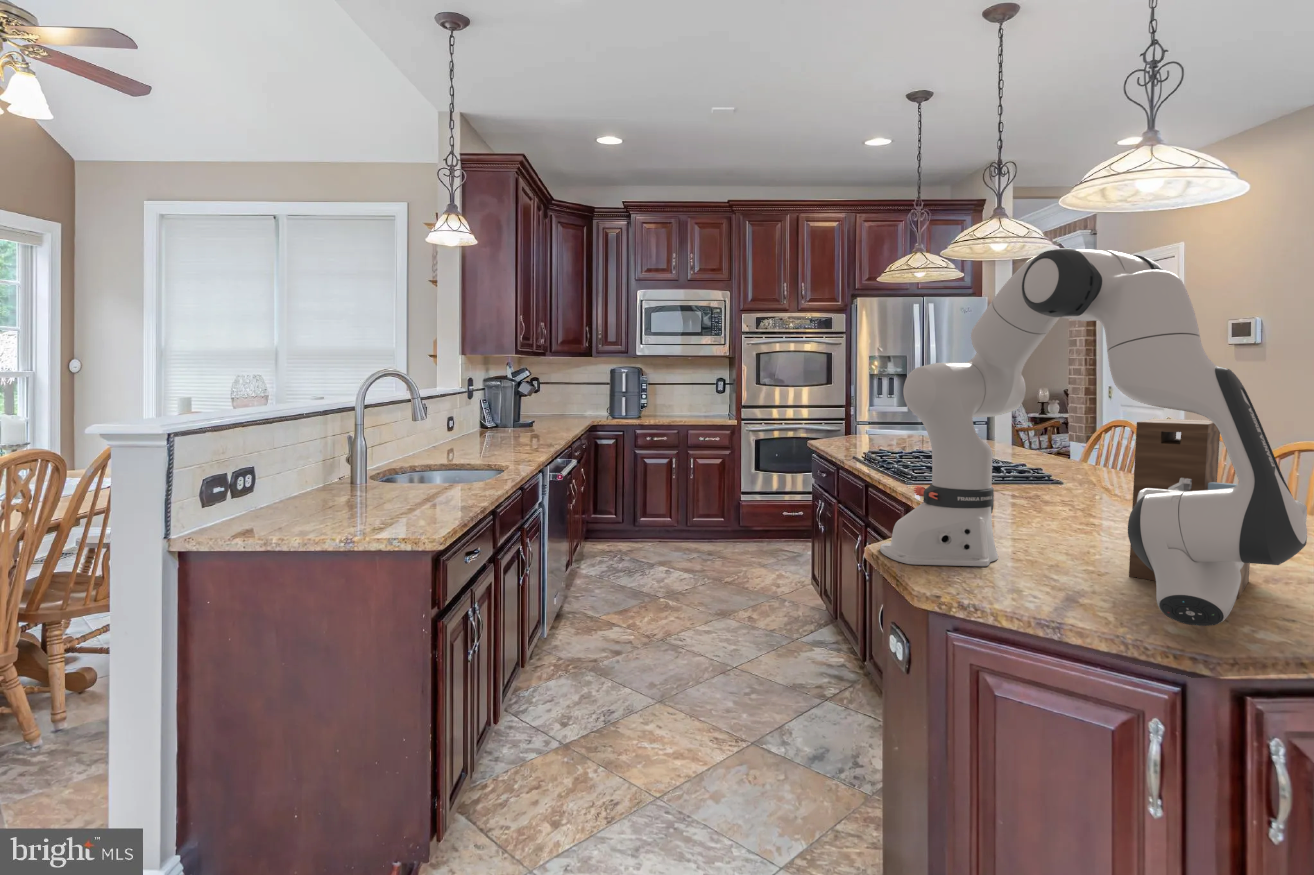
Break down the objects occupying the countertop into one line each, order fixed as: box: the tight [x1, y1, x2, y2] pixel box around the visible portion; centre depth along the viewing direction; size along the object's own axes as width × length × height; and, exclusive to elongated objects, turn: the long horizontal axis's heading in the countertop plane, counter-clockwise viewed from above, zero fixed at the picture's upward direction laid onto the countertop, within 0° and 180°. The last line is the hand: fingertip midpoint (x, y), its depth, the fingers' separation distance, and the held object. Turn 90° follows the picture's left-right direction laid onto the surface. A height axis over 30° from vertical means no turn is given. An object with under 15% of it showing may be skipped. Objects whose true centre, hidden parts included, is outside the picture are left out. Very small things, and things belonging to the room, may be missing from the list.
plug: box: [1208, 481, 1238, 490], centre depth 117 cm, size 20×4×4 cm, turn 134°
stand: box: [1128, 418, 1251, 600], centre depth 122 cm, size 17×16×28 cm
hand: (1223, 484), depth 110 cm, fingers open, 8 cm apart
